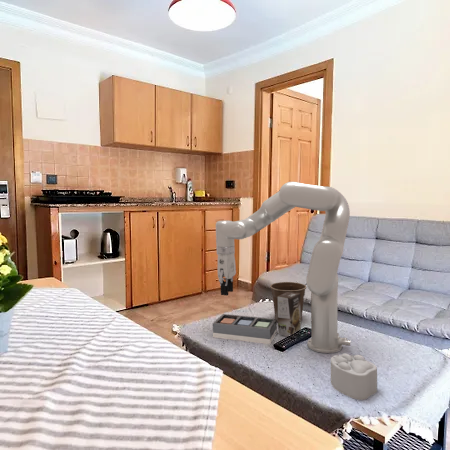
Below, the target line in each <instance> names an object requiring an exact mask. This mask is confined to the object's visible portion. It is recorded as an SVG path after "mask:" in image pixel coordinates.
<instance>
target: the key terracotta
mask: <svg viewBox="0 0 450 450" xmlns="http://www.w3.org/2000/svg"><path fill="white" fill-rule="evenodd" d="M234 321H235V319H228V318H224V319H223V320H222V321H221V322H220V323H222V324H232V323H233V322H234Z"/></svg>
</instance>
